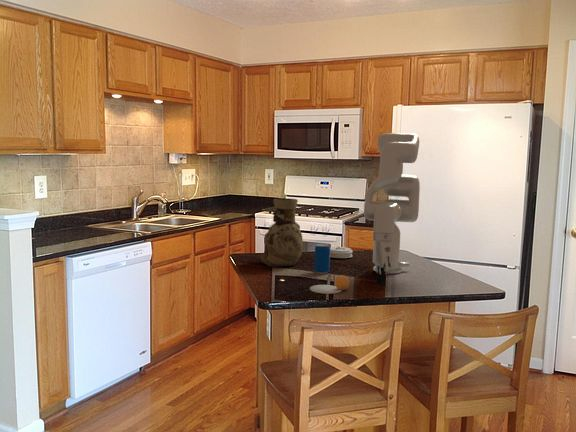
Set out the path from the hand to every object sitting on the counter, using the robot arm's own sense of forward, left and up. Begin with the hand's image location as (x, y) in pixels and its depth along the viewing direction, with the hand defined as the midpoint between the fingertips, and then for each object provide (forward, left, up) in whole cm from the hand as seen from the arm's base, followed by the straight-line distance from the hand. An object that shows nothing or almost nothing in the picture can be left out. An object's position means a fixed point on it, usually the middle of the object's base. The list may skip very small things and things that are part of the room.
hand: (380, 283), depth 198 cm
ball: (+16, +1, +1) cm, 16 cm away
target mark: (+22, 0, -2) cm, 22 cm away
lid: (-2, -59, -2) cm, 59 cm away
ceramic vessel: (+30, -45, -2) cm, 54 cm away
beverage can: (+16, -27, -2) cm, 31 cm away
